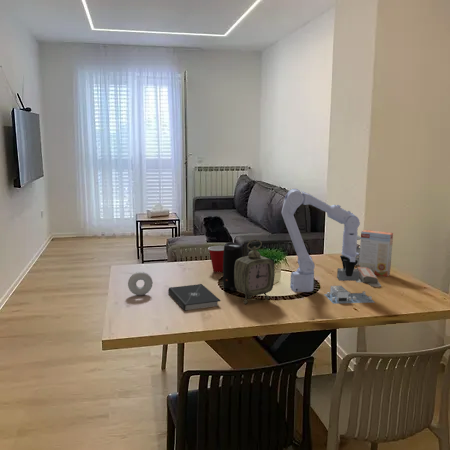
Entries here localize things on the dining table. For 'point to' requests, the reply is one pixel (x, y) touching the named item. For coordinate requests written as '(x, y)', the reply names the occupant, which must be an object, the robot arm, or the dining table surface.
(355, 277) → the loose drive
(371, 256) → the cracker box
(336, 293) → the seated drive
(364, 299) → the drive tray
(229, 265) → the portable speaker
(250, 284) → the tabletop clock
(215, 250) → the plastic cup
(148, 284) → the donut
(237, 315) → the dining table surface
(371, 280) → the packaged product
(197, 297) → the book
